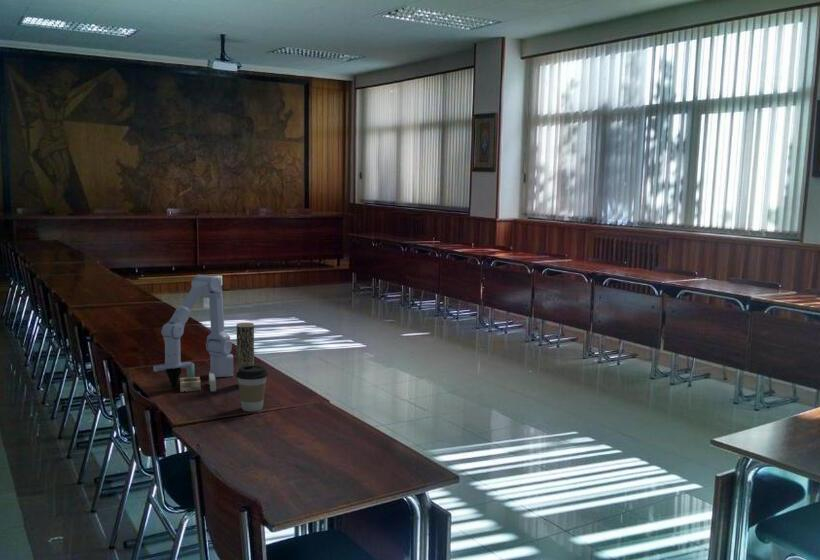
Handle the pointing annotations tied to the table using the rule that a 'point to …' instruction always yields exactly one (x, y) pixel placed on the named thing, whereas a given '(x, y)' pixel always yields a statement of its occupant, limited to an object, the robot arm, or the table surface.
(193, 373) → the dowel
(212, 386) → the wall
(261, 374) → the coffee cup
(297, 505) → the table surface
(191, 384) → the beige hollow square block
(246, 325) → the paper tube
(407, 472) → the table surface
